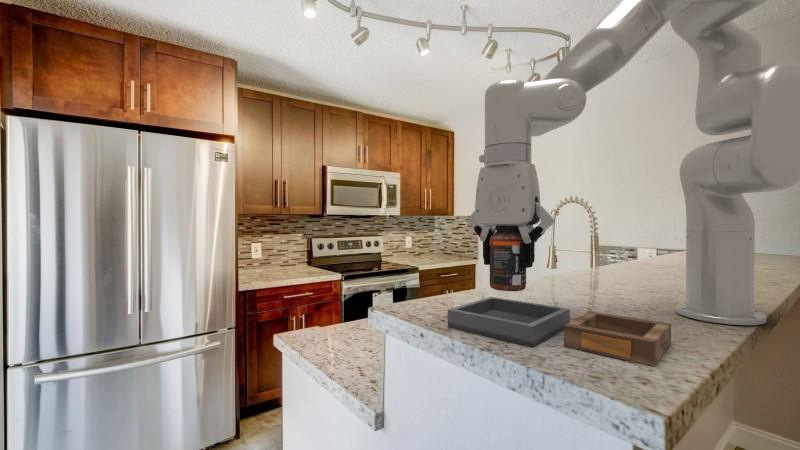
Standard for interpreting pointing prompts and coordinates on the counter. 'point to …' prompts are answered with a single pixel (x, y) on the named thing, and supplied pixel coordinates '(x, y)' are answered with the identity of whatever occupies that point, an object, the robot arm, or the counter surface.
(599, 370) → the counter surface
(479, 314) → the tray
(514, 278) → the supplement bottle
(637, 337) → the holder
